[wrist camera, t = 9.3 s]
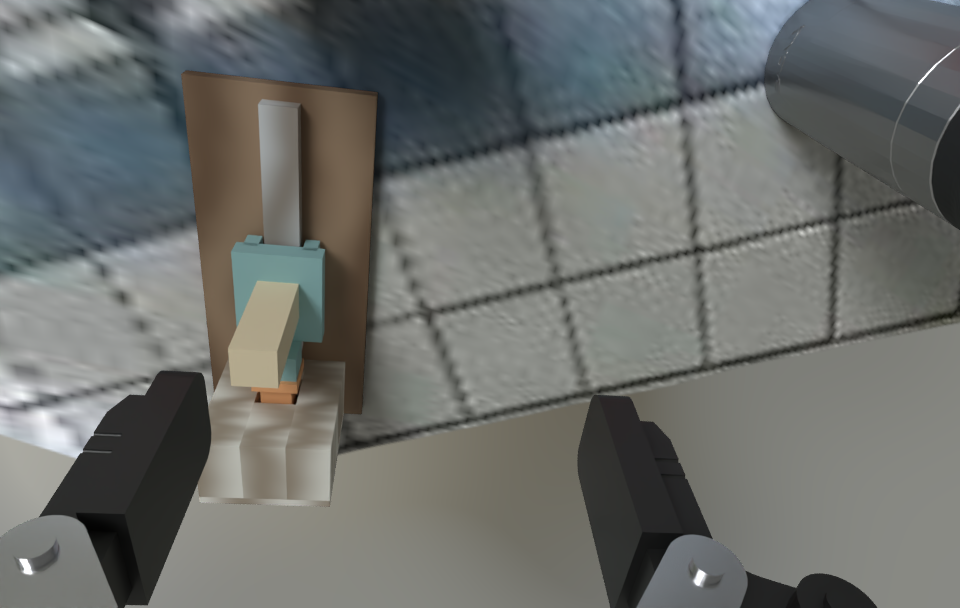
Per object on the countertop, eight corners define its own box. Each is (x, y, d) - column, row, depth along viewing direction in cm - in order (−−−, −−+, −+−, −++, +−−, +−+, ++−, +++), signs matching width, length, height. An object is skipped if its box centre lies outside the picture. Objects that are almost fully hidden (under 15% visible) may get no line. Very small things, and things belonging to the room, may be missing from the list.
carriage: (327, 241, 47) (304, 324, 38) (326, 343, 51) (305, 438, 42) (240, 234, 46) (196, 316, 37) (247, 338, 51) (209, 434, 42)
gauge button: (303, 358, 50) (297, 384, 47) (304, 418, 53) (298, 447, 50) (260, 355, 49) (250, 382, 46) (263, 416, 52) (255, 445, 50)
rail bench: (377, 92, 43) (365, 146, 34) (362, 407, 57) (350, 507, 48) (186, 70, 41) (117, 121, 32) (219, 400, 55) (177, 502, 46)
